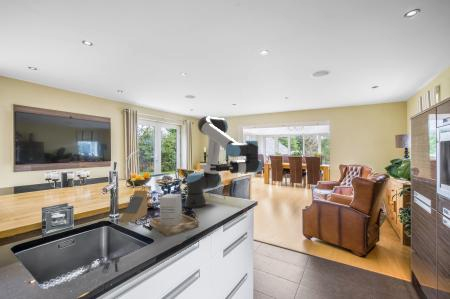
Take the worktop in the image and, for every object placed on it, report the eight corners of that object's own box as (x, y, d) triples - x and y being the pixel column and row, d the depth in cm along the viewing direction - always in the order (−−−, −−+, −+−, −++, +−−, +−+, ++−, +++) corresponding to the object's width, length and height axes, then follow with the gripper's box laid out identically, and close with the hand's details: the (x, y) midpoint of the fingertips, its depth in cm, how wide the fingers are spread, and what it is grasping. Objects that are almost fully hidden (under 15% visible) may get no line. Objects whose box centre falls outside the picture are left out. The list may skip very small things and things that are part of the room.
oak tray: (179, 217, 124) (179, 212, 124) (198, 226, 109) (198, 220, 109) (149, 225, 112) (149, 219, 112) (166, 236, 97) (166, 229, 97)
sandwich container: (118, 221, 120) (118, 195, 120) (135, 213, 135) (135, 190, 135) (132, 222, 118) (131, 195, 118) (147, 214, 133) (147, 190, 133)
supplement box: (166, 220, 116) (166, 193, 116) (182, 221, 115) (181, 193, 115) (159, 226, 107) (159, 197, 107) (176, 227, 106) (175, 197, 106)
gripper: (244, 175, 112) (205, 177, 107) (230, 171, 136) (198, 172, 131) (244, 161, 112) (205, 162, 107) (230, 159, 136) (198, 160, 131)
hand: (201, 168), depth 119 cm, fingers open, 13 cm apart
